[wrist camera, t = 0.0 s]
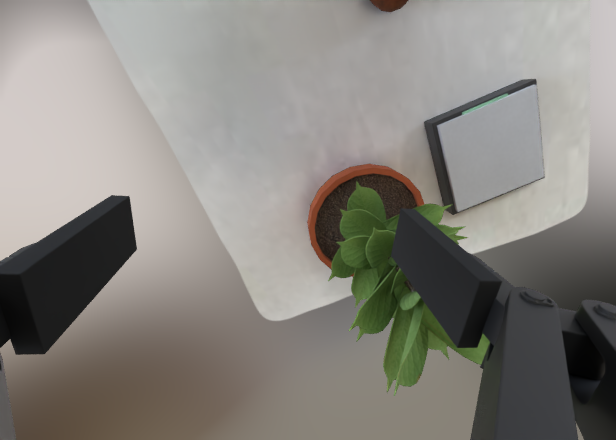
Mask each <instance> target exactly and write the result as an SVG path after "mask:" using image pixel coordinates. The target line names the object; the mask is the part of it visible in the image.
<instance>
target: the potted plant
mask: <svg viewBox="0 0 616 440" xmlns="http://www.w3.org/2000/svg"><path fill="white" fill-rule="evenodd" d="M452 205H453V204H452ZM450 206H451V205H447V206H443V207H441V206H439V205H436V204H425V205H424V202H423V199H422V196H421V194H420V191H419V190H418V189H417V188H416V187H415V186H414V184H413V183H412V182H411V181H410V180H409V179H408V178H407V177H405V176H403V175H402V174H400V173H398V172H396V171H394V170H392V169H391V168H389V167H386V166H380V165H373V164H365V165H359V166H353V167H349V168H347V169H345V170H343V171H341V172H339V173H337V174H335V175H333V176H332V177H331V178H330V179H329V180H328V181H327V182H326V183H325V184H324V185H323V186H322V187H321V188H320V189H319V190H318V192H317V194H316V196H315V198H314V200H313V201H312V203H311V205H310V211H309V216H308V222H307V223H308V229H309V235H310V240H311V244H312V247H313V248H314V250H315V252H316V254H317V255H318V257H319V259H320V260H321V261H322V262H323V263H325V264H326V265H327V266H328V267H329V268H330V269H331V270H332V274H331V276H330V278H329V280H331V279H332V278H333V277H335V276H336V277H339V278H347V277H350V276H353V280H352V286H351V290H352V293H353V295H354V296H355V298H356V306H357V305H358V303H359V302H360V300H363V299H367V300H366V302H365V303H364V304H363V305H362V307H361V308H360V309H359V311H358V313H357V316H356V319H355V321H354V323H353V324H352V326H351V328H350V330H351V329H353V328H354V327H355V326H356V325H357V326H359V327H360V332H359V335H358V338H357V341H358V340H359V339H360V337H361V336H362V335H363V334H364V333H368V334H374V333H379V332H381V331H383V330H384V328H385V327H386V326H387V325H388V324H389V322H390V320H391V318H394V320H393V324H392V328H391V331H390V335H389V339H388V343H387V348H386V352H385V356H384V363H383V367H384V371H385V374H386V376H387V378H388V382H387V392H388V390H389V388H390V386H391V384H392V382H393V380H396V379H397V382H396V387H395V393H394V396H395V394H396V391H397V389H398V386H399V384H400V385H403V386H412V385H414V384H416V383H417V381H418V380H419V378H420V376H421V374H422V371H423V367H424V364H425V360H426V355H427V351H428V348H430V349H434V350H441V351H442V352H443V354H444V355H445V356H446V357H447V358H448V359H449V357H448V353H447V348H446V347H447V346H449V347H451V348H452V349H454V350H455V351H456V352H458V353H459V354H461V355H462V356H464V357H465V358H467V359H469V360H471V361H473V362H475V363H477V364H480V365H481V364H482V361H483V359H484V356H485V354H486V351H487V348H488V346H489V343H490V341H489V340H488V339H487V338H486V337H485V336H484V334H482V337H481V339H480V342H479V345H478V347H477V348H457V347H456V346H455V344H454V343H453V342H452V340H451V339H450V337H449V336H448V335H447V333H446V332H445V330H444V329H443V328H442V326H441V325H440V323H439V322H438V321H437V319H436V318H435V317H434V315H433V314H432V312H431V311H430V310H429V308H428V307H427V305H426V304H425V303H424V301H423V300H422V298H421V297H420V296H419V294H418V293H417V291H416V290H415V289H414V287H413V286H412V284H411V283H410V282H409V280H408V279H407V277H406V276H405V275H404V273H403V272H402V270H401V269H400V268H399V266H398V265H397V263H396V262H395V261H394V259H393V258H392V257H391V253H392V248H393V243H394V238H395V233H396V229H397V224H398V219H399V214H400V209H415V210H416V211H418V212H419V213H420V214H421V215H423V216H424V217H425V218H426V219H427V220H429V221H430V222H431V223H432V224H433V225H435V226H436V227H437V228H438V229H439V230H441V231H442V232H443V233H444V234H446V235H447V236H448V237H449V238H450V239H452V240H453V241H454V242H455V243H456V244H459V243H458V242H457V240H460V239H464V238H468V237H463V236H457V235H455V234H456V233H457V232H458V230H460V229H462V228H464V227H454V228H452V227H449V226H446V225H438V223H439V222H440V221H441V219H442V216H443V212H444V210H445V209H447V208H448V207H450ZM456 231H457V232H456ZM329 280H328V281H329ZM356 306H355V307H356ZM350 330H349V331H350Z"/></svg>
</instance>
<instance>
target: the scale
mask: <svg viewBox="0 0 616 440" xmlns="http://www.w3.org/2000/svg"><path fill="white" fill-rule="evenodd" d="M424 124H425V128H426V132H427V136H428V141H429V145H430V149H431V153H432V157H433V162H434V166H435V170H436V174H437V178H438V183H439V187H440V191H441V195H442V199H443V204H444V206H447V205H451V206H450V207H448V208H447V209H445V210H447V211H448V212H449V213H451V214H452V215H454V214H457V213H459V212H461V211H464V210H466V209H469V208H471V207H474V206H476V205H479V204H481V203H484V202H486V201H488V200H491V199H493V198H496V197H498V196H501V195H503V194H506V193H508V192H511V191H513V190H515V189H518V188H520V187H523V186H525V185H528V184H530V183H533V182H535V181H538V180H540V179H542V178H545V175H544V164H543V152H542V141H541V129H540V117H539V106H538V94H537V83H536V79H528V80H521V81H518V82H516V83H514V84H511V85H509V86H507V87H504V88H502V89H500V90H497V91H495V92H493V93H490V94H488V95H486V96H483V97H481V98H479V99H476V100H474V101H472V102H469V103H467V104H465V105H462V106H460V107H458V108H455V109H453V110H451V111H448V112H446V113H444V114H441V115H439V116H437V117H434V118H432V119H430V120H427V121H425V122H424ZM452 204H453V205H452Z"/></svg>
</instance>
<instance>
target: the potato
mask: <svg viewBox="0 0 616 440" xmlns="http://www.w3.org/2000/svg"><path fill="white" fill-rule="evenodd" d="M370 1H371V2H372V3H373V4H374V5H375V6H376V7H377V8H379V9H380V10H381V11H386V12H392V11H395V10H397V9H400V8H401V7H403V6H404V5H405V4H406V3H407V1H408V0H370Z"/></svg>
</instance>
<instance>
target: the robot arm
mask: <svg viewBox="0 0 616 440" xmlns="http://www.w3.org/2000/svg"><path fill="white" fill-rule="evenodd" d="M136 249H137V247H136V240H135V233H134V226H133V219H132V212H131V204H130V197H129V196H113V195H112V196H110V197H108V198H107V199H105V200H104V201H102V202H100V203H99V204H97V205H96V206H94V207H93V208H91V209H89V210H88V211H86V212H85V213H83V214H81V215H80V216H78V217H77V218H75V219H74V220H72V221H70V222H69V223H67V224H65V225H64V226H62V227H61V228H59V229H57V230H56V231H54V232H53V233H51V234H50V235H48V236H46V237H45V238H43V239H42V240H40V241H39V242H37V243H34V244H31V245H29V246H26V247H23V248H21V249H19V250H18V251H16V252H15V253H13V254H11V255H10V256H9V257H7V258H5V259H3V260H2V261H0V348H1V347H2V346H3V345H4V344H5V343H6V342H7V341H8V340H9V339H11V342H12V345H13V348H14V350H15V353H16V354H18V355H20V354H45V353H46V352H47V351H48V350H49V349H50V347H51V346H52V345H53V344H54V343H55V342H56V341H57V339H58V338H59V337H60V336H61V335H62V334H63V332H65V330H66V329H67V328H68V327H69V326H70V325H71V324H72V322H73V321H74V320H75V319H76V318H77V317H78V315H80V313H81V312H82V311H83V310H84V309H85V308H86V307H87V305H88V304H89V303H90V302H91V301H92V300H93V299H94V297H95V296H96V295H97V294H98V293H99V292H100V291H101V289H102V288H103V287H104V286H105V285H106V284H107V283H108V281H109V280H110V279H111V278H112V277H113V276H114V275H115V274H116V272H117V271H118V270H119V269H120V268H121V267H122V266H123V265H124V263H125V262H126V261H127V260H128V259H129V257H131V255H132V254H133V253H134V252H135V251H136ZM391 257H392V258H393V259H394V261H395V262H396V263H397V265H398V266H399V268H400V269H401V270H402V272H403V273H404V275H405V276H406V277H407V279H408V280H409V282H410V283H411V284H412V286H413V287H414V289H415V290H416V291H417V293H418V294H419V296H420V297H421V298H422V300H423V301H424V303H425V304H426V305H427V307H428V308H429V310H430V311H431V312H432V314H433V315H434V317H435V318H436V319H437V321H438V322H439V323H440V325H441V326H442V328H443V329H444V330H445V332H446V333H447V335H448V336H449V337H450V339H451V340H452V342H453V343H454V344H455V346H456V347H457V348H477V347H478V345H479V342H480V339H481V337H482V334H484V336H485V337H486V338H487V339H488V340H489V341H490V343H489V346H488V348H487V351H486V354H485V356H484V359H483V361H482V364H481V366H480V367H481V368H482V369H483V373H482V379H481V384H480V390H479V395H478V401H477V406H476V412H475V417H474V423H473V428H472V434H471V439H470V440H578V435H577V429H576V423H577V425H578V427H579V429H580V431H581V433H582V436H583V438H584V440H616V306H614V305H613V306H612V305H611V304H609V303H603V302H600V301H595V300H584V301H582V303H581V304H580V306H579V308H578V310H577V311H572V310H566V309H561V308H558V306H557V304H556V302H554V301H553V300H552V299H551V298H550V297H548V296H546V295H544V294H543V293H540V292H538V291H535V290H533V289H529V288H525V287H514V286H513V285H511V284H510V283H509V282H508V281H507V280H505V279H504V278H503V277H501V276H500V275H499V274H498V273H496V272H494V270H493V269H492V268H490V267H489V266H487V264H485V263H484V262H483V261H482V260H481V259H479V258H477V257H476V256H473V255H472V254H470V253H468V252H466V251H465V250H464V249H462V248H461V247H460V246H459V245H458V244H456V243H455V242H454V241H453V240H452V239H450V238H449V237H448V236H447V235H446V234H444V233H443V232H442V231H441V230H439V229H438V228H437V227H436V226H435V225H433V224H432V223H431V222H430V221H429V220H427V219H426V218H425V217H424V216H423V215H421V214H420V213H419V212H418V211H416V210H415V209H400V214H399V219H398V224H397V229H396V233H395V238H394V243H393V248H392V253H391ZM575 420H576V422H575ZM0 440H16V436H15V430H14V424H13V418H12V413H11V406H10V400H9V394H8V388H7V382H6V376H5V371H4V365H3V359H2V356H1V353H0Z"/></svg>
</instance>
